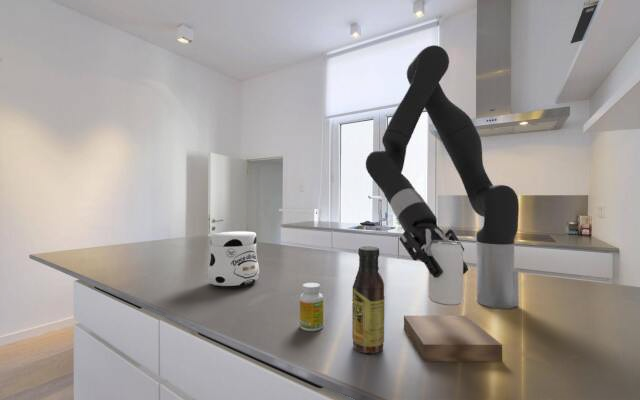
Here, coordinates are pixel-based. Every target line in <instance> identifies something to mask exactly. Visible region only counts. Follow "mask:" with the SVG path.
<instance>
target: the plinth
mask: <svg viewBox="0 0 640 400" xmlns="http://www.w3.org/2000/svg"><path fill="white" fill-rule="evenodd" d="M403 330H404V332H405V333H406V334H407V336H408V337H409V339H410V342H412V344H413V346H414V347H415V349H416V351H417V352H418V354H419V355H420V357H421V359H422V360H423V362H491V361H501V362H502V363H503V344H502V343H500V341H499V340H497V339H496V338H495V337H493V336H492V335H491V334H490V333H488V332H487V331H486V330H484V328H482V327H481V326H480V325H478V324H477V323H476V322H474V321H473V320H472V319H471V318H470V317H469V316H467V315H403Z"/></svg>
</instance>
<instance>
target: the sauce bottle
mask: <svg viewBox="0 0 640 400" xmlns="http://www.w3.org/2000/svg"><path fill="white" fill-rule="evenodd" d="M357 255H358V256H359V257H358V258H359V259H358V263H359V264H358V270H357V272H356V276H355V279H354V282H353V284H352V299H351V301H352V306H351V307H352V310H351V311H352V315H351V316H352V318H351V319H352V321H351V322H352V327H351V328H352V329H351V332H352V335H351V336H352V344H353V348H354V349H355V350H357V351H358V352H359V353H362V354H377V353H380V352H382V351H383V349H384V342H385V297H386V296H385V283H384V280H383V278H382V276H381V274H380V273H379V269H380V267H379V257H380V248H379V247H377V246H376V247H375V246H368V245H367V246H360V247H358V251H357Z"/></svg>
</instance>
